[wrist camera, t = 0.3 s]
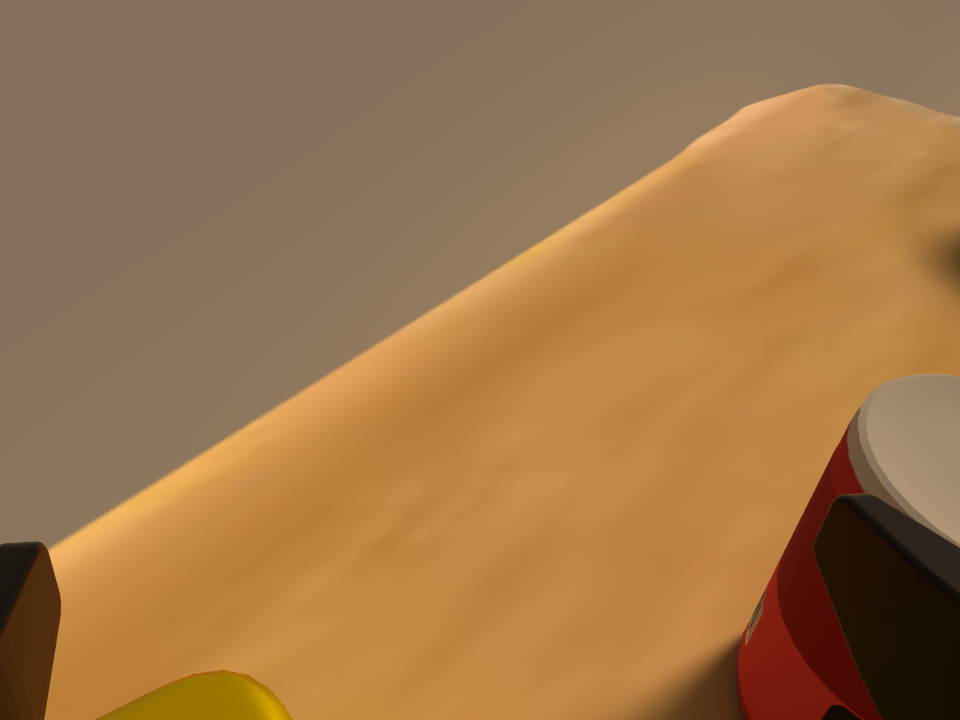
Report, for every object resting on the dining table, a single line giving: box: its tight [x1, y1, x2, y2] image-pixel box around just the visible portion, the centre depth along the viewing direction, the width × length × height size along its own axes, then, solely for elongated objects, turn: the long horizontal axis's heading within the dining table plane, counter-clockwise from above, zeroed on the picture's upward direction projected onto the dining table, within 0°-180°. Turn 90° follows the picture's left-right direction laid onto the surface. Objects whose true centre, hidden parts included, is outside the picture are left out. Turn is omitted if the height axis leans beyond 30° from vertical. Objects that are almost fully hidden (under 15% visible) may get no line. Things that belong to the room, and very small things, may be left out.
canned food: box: [737, 374, 960, 720], centre depth 23 cm, size 8×8×11 cm
